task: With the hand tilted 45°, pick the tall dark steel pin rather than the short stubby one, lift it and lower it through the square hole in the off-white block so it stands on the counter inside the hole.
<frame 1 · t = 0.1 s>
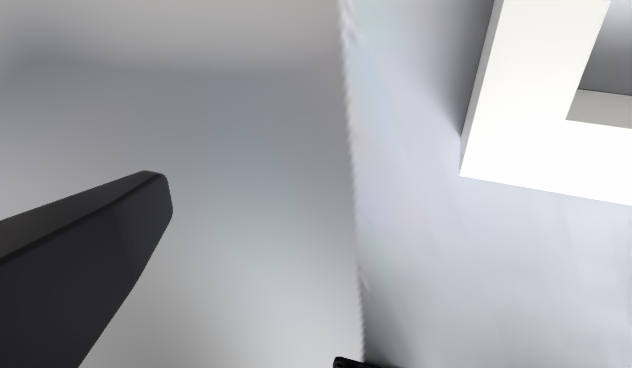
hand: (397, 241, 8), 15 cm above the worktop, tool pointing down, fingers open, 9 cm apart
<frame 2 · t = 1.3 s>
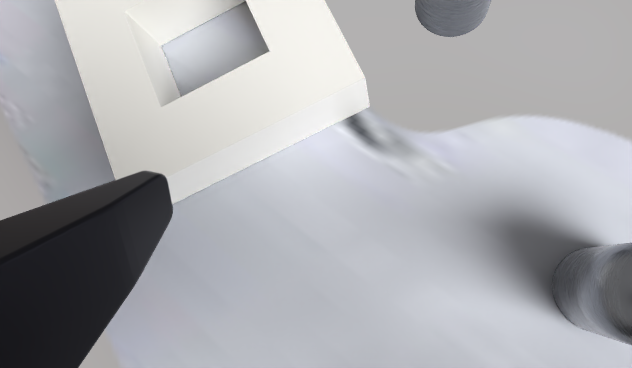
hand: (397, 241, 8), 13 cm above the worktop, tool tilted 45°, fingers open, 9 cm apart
short pin: (598, 289, 19), on the worktop
long pin: (451, 3, 23), on the worktop
hole block: (222, 63, 24), on the worktop
when the fingers open (8 cm above the worktop, at t = 9.5 s): long pin drops 1 cm, resting in hole block.
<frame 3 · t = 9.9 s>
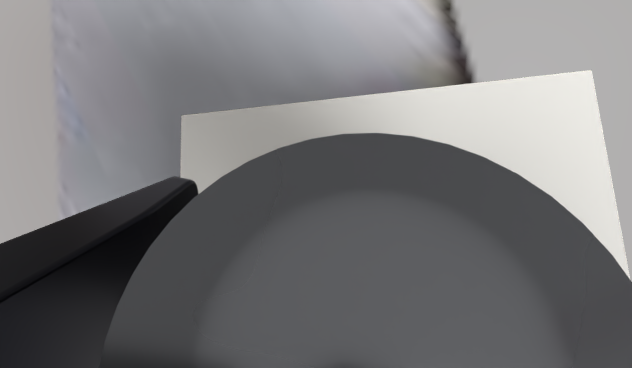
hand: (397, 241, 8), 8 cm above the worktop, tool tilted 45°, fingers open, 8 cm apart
long pin: (389, 298, 15), resting in hole block
hole block: (388, 297, 15), on the worktop
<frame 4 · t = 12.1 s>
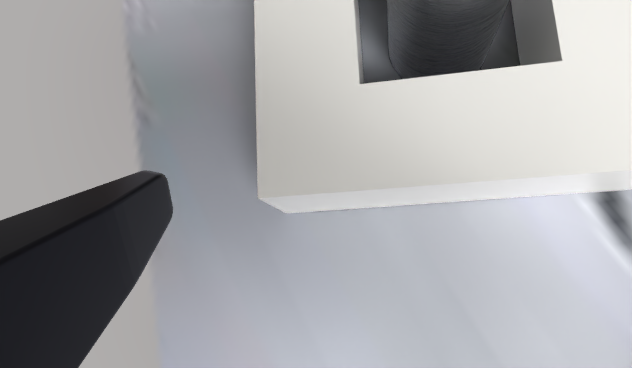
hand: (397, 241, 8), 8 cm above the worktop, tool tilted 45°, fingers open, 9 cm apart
long pin: (437, 45, 17), resting in hole block
hole block: (436, 44, 17), on the worktop
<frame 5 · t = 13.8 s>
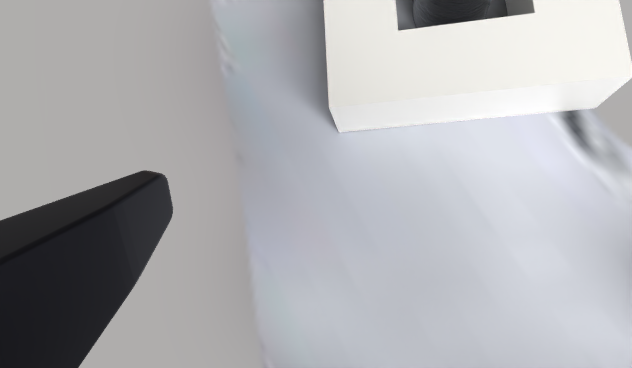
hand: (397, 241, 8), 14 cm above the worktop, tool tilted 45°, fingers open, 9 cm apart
long pin: (448, 11, 23), resting in hole block
hole block: (448, 10, 23), on the worktop
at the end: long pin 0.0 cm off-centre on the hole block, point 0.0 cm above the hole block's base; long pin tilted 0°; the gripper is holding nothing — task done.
